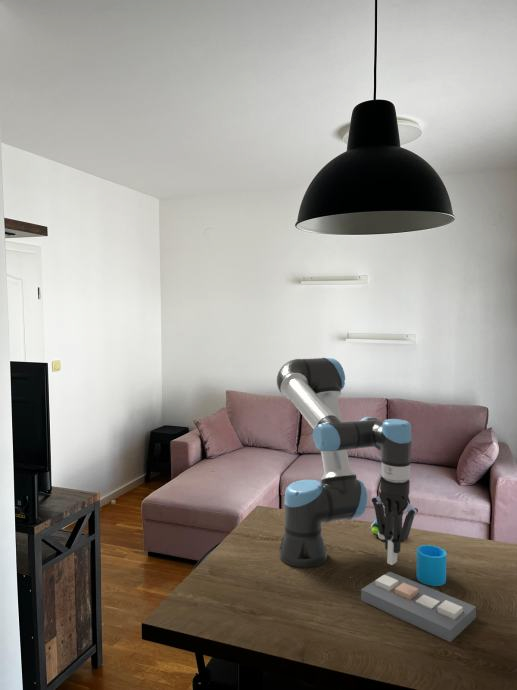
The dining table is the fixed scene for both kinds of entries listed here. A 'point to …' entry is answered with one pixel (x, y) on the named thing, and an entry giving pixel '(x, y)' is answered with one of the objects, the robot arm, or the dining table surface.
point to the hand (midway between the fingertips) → (392, 562)
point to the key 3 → (427, 602)
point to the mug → (431, 565)
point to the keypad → (419, 608)
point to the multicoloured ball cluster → (375, 530)
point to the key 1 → (386, 583)
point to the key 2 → (406, 591)
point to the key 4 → (450, 610)
